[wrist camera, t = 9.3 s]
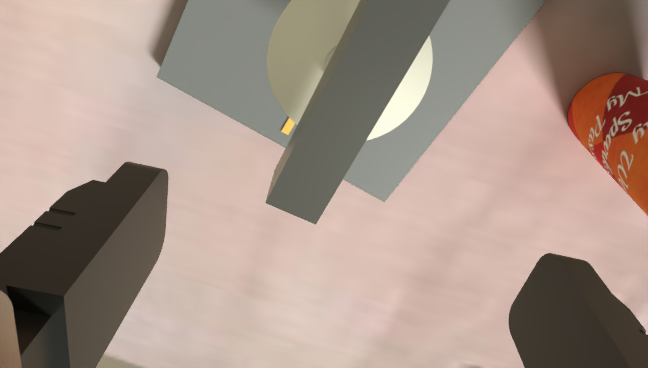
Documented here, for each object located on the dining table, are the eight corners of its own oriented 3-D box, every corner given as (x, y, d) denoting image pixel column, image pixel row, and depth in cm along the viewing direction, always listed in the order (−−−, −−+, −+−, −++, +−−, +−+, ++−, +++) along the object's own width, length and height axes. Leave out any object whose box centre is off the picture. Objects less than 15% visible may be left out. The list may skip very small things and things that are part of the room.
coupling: (328, -93, 21) (320, -107, 13) (469, -10, 22) (532, 19, 15) (243, 106, 26) (203, 176, 18) (363, 162, 27) (371, 248, 20)
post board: (557, -29, 29) (625, -16, 22) (383, 192, 38) (392, 251, 31) (291, -235, 24) (271, -302, 17) (163, 71, 33) (116, 108, 26)
